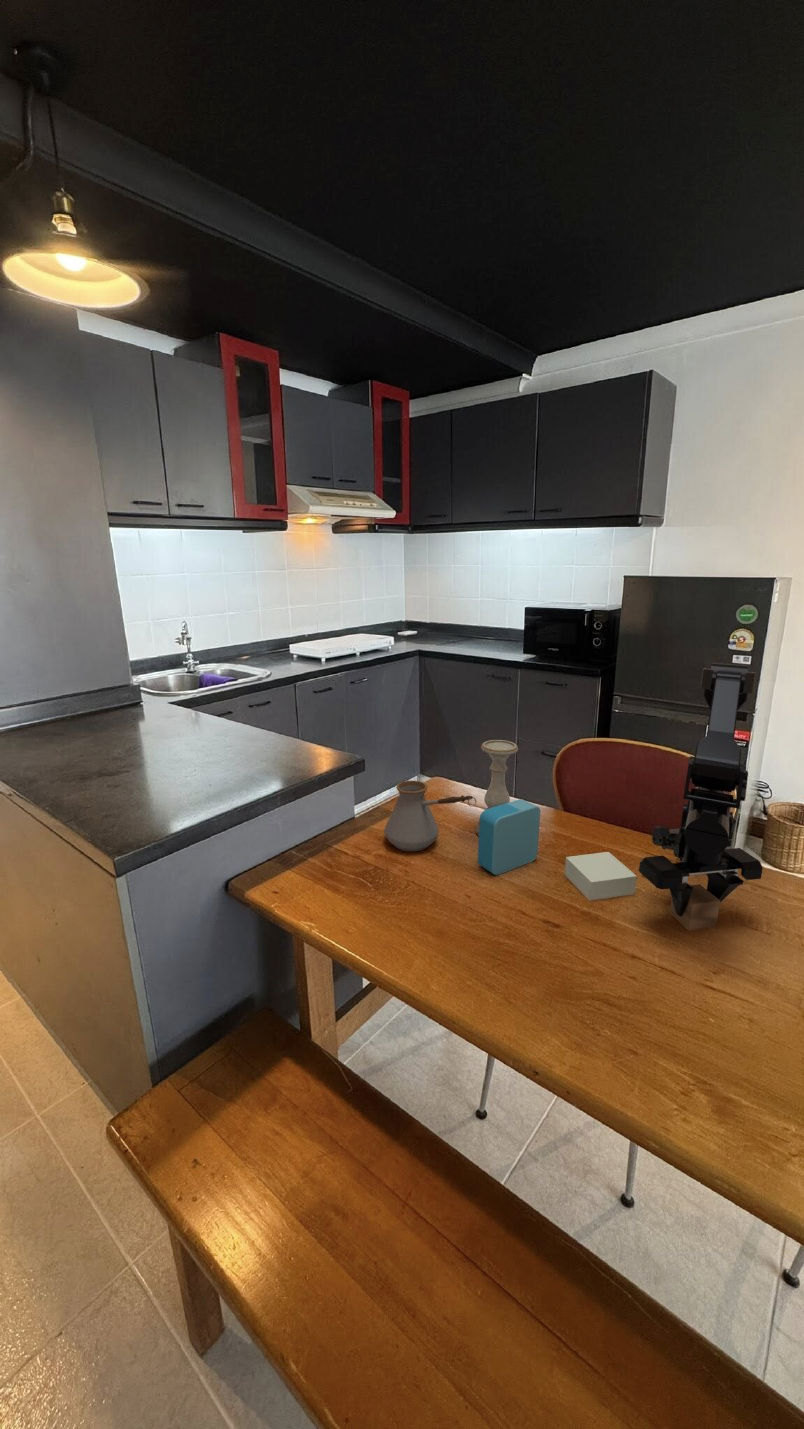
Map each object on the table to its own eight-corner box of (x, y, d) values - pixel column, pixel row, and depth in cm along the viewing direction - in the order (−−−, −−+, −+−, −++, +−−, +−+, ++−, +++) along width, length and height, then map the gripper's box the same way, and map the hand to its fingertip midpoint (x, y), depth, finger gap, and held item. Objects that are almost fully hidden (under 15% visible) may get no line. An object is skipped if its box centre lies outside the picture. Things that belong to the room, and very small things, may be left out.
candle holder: (471, 825, 132) (474, 739, 127) (509, 823, 133) (513, 738, 127) (480, 843, 124) (484, 752, 118) (520, 841, 124) (526, 751, 119)
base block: (606, 870, 114) (608, 851, 113) (634, 895, 105) (636, 876, 104) (564, 875, 112) (565, 857, 111) (589, 902, 103) (591, 882, 102)
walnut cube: (695, 910, 101) (699, 884, 99) (715, 927, 96) (720, 900, 95) (669, 913, 100) (673, 887, 99) (688, 931, 95) (692, 904, 94)
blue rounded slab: (521, 851, 120) (524, 797, 117) (537, 860, 117) (541, 804, 114) (476, 867, 114) (479, 810, 111) (492, 877, 110) (495, 819, 107)
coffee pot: (373, 843, 123) (372, 777, 120) (409, 825, 132) (409, 762, 128) (453, 880, 110) (455, 806, 106) (488, 857, 118) (491, 788, 114)
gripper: (722, 803, 103) (710, 882, 107) (625, 811, 99) (616, 892, 104) (772, 831, 92) (756, 918, 96) (665, 841, 89) (653, 930, 93)
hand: (693, 913), depth 98 cm, fingers open, 5 cm apart
